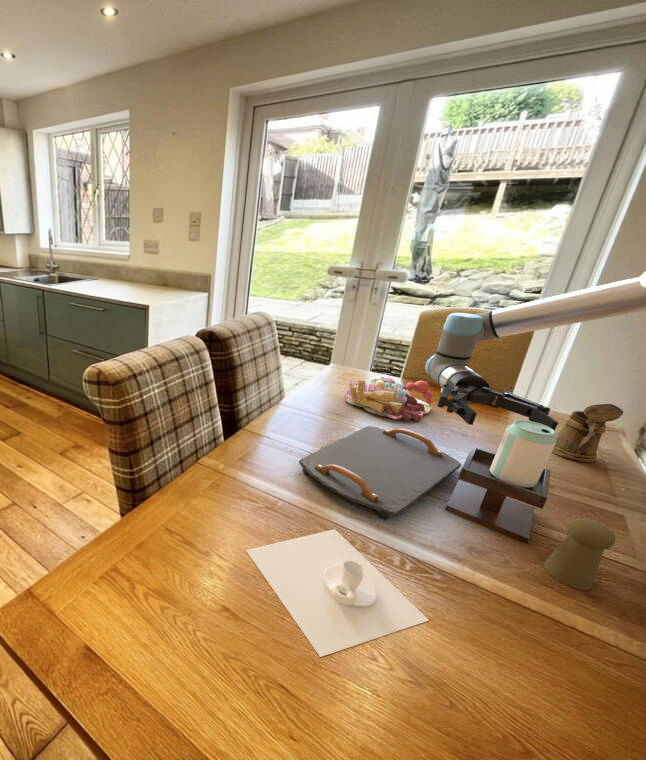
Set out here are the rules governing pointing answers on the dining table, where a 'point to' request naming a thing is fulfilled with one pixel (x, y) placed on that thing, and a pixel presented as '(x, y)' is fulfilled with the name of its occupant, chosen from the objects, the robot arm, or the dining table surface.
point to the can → (523, 453)
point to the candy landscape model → (390, 398)
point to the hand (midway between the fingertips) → (512, 423)
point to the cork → (580, 553)
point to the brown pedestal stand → (496, 497)
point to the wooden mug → (584, 432)
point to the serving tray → (381, 468)
